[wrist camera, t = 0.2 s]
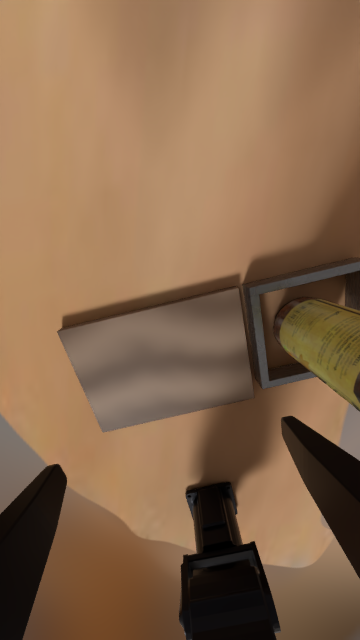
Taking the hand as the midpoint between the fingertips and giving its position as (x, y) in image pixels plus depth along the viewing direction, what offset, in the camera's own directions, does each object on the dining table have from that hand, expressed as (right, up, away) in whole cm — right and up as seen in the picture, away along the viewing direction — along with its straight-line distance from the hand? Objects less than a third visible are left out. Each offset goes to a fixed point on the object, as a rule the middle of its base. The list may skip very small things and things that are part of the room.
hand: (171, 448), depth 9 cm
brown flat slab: (-1, 0, +15) cm, 15 cm away
